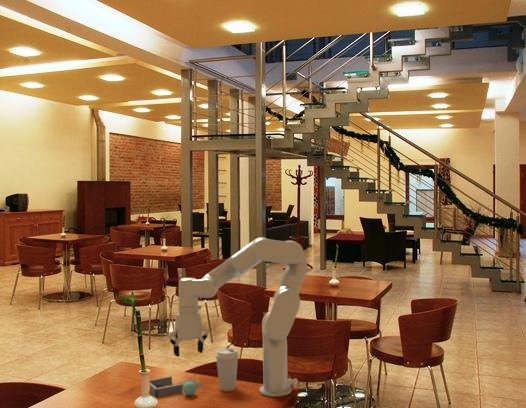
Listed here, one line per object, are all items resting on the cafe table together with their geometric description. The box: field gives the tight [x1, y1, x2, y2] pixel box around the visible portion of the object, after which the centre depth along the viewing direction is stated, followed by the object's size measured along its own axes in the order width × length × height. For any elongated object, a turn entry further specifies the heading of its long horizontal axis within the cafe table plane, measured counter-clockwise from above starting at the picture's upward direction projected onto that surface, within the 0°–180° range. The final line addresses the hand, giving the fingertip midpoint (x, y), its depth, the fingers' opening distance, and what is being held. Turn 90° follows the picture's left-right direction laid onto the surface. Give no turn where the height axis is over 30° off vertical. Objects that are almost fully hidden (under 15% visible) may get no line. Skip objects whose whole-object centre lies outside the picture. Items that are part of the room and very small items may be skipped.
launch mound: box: [179, 378, 203, 390], centre depth 223 cm, size 14×14×14 cm
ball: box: [182, 382, 197, 396], centre depth 211 cm, size 5×5×5 cm
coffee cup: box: [214, 347, 240, 392], centre depth 218 cm, size 10×10×15 cm
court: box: [148, 375, 184, 398], centre depth 217 cm, size 11×12×3 cm
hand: (188, 353), depth 211 cm, fingers open, 9 cm apart
